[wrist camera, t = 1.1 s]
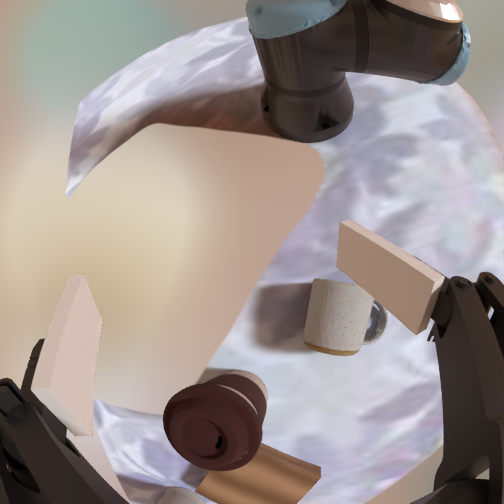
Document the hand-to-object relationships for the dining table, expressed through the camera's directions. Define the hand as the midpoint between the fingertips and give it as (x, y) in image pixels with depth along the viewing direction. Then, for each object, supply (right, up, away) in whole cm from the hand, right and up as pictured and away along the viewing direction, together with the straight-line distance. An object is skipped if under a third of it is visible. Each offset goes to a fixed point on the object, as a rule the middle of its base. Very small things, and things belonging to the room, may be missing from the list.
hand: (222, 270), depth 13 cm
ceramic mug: (+14, -7, +21) cm, 26 cm away
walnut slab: (+2, -34, +18) cm, 39 cm away
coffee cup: (0, -19, +22) cm, 29 cm away
